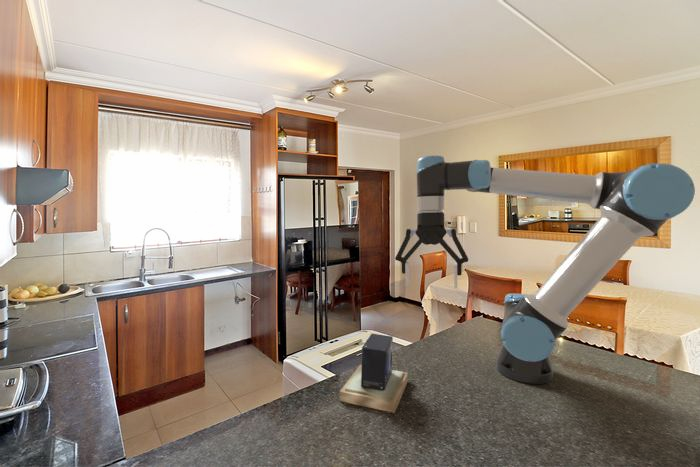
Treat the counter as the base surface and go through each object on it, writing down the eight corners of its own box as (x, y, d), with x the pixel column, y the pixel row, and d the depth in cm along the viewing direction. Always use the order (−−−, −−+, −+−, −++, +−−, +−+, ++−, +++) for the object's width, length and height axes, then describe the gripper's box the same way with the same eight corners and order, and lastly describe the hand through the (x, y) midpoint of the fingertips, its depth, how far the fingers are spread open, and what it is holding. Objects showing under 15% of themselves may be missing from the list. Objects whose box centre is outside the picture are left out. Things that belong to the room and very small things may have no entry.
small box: (385, 391, 86) (386, 350, 85) (360, 387, 88) (360, 347, 87) (393, 372, 96) (393, 335, 95) (370, 369, 98) (370, 332, 97)
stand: (407, 381, 97) (407, 370, 97) (394, 412, 82) (394, 400, 82) (360, 372, 102) (360, 362, 102) (339, 401, 87) (339, 389, 87)
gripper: (476, 210, 99) (476, 284, 100) (389, 212, 106) (390, 281, 108) (478, 210, 92) (477, 290, 93) (384, 212, 99) (385, 286, 101)
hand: (431, 285), depth 100 cm, fingers open, 13 cm apart
